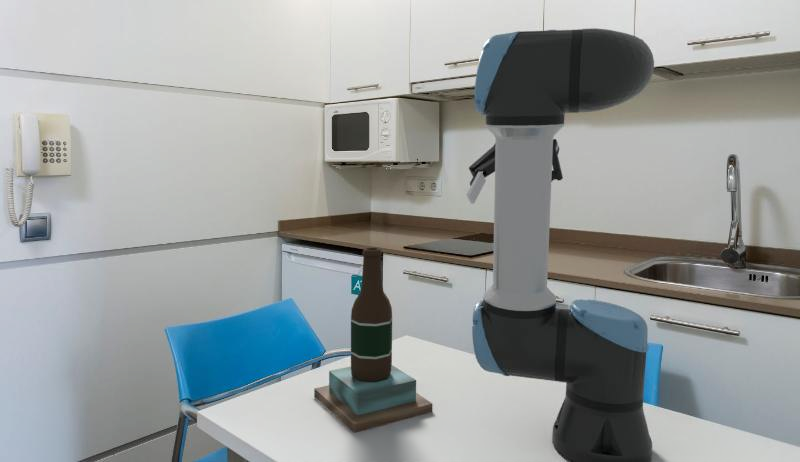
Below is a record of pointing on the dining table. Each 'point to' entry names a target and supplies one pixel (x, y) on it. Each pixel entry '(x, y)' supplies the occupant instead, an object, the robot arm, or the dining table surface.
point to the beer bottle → (371, 324)
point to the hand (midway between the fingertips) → (499, 201)
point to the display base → (372, 416)
